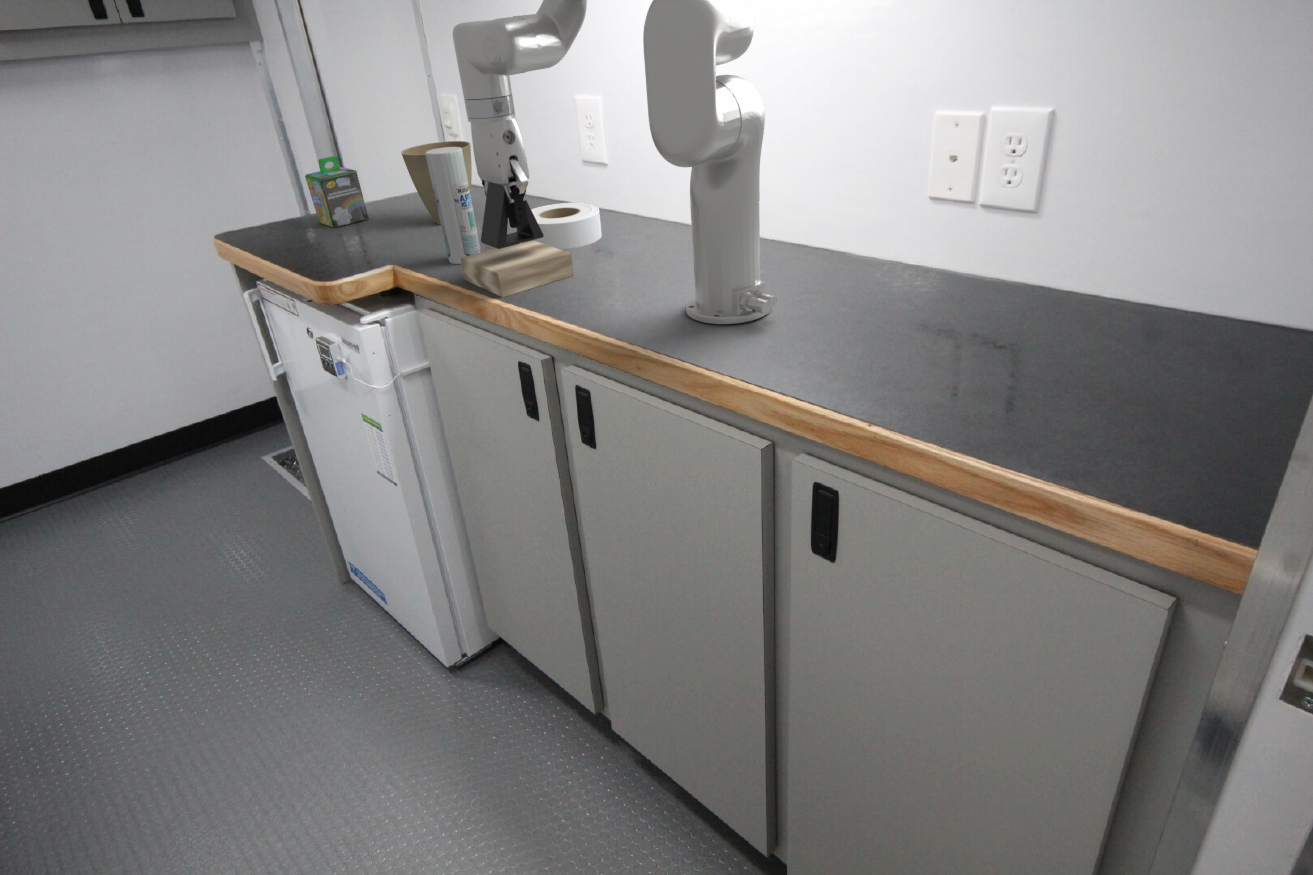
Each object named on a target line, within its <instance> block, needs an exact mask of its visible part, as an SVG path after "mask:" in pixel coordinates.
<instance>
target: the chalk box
mask: <svg viewBox="0 0 1313 875" xmlns="http://www.w3.org/2000/svg"><path fill="white" fill-rule="evenodd" d="M327 163H333V165H332V167H329V168H328V167H326V164H327ZM318 165H319V170H318V171H314V172H311V173H306V174H305V175H304V177H305V181H306V184H307V188H308V190H309V194H310V197H311V201H312V205H313V208H314V210H315V213H316V217H317V220H318V223H319V224H322V225H325V226H326V227H331V228H333V229H336V228H339V227H343V226H347V225H351V224H356V223H360V222H364V221H368V220H369V214H368V211H367V208H366V207H367V206H366V203H365V199H364V196H363V195H364V194H363V191H362V188H361V183H360V179H359V176H358V170H354V169H351V168H347V167H343V166H340V160H339V157H338V156H337V155H332V156H326V157H322V158H319V159H318Z"/></svg>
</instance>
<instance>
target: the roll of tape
mask: <svg viewBox="0 0 1313 875" xmlns="http://www.w3.org/2000/svg"><path fill="white" fill-rule="evenodd" d="M530 209H531V211H532V213H533V215H534V217H535V219H536V221H537V223H538V225H539V227H540V229H541V231H542V233H543V235H544V236H543V238H539V239H535V240H533V241H536V242H539V243H542V244H545V245H548V246H551V247H554V248H557V249H560V250H563V251H566V250H571V249H576V248H581V247H585V246H589V245H591V244H593V243H595V242H598V241H599V240H600V239H601V238H602V236H603V235H602V225H601V216H600V208H599V206H598V205H595V204H591V203H588V202H587V203H583V202H561V203H553V204H547V205H542V206H538V207H534V208H530Z"/></svg>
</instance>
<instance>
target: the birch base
mask: <svg viewBox="0 0 1313 875" xmlns="http://www.w3.org/2000/svg"><path fill="white" fill-rule="evenodd" d="M572 260H573V258H572V253H571V252H569V251H566V250H560V249H557V248H554V247H551V246H548V245H545V244H542V243H539V242H536V241H533V240H532V241H528V242H524V243H521V242H520V244H516V245H513V246H509V247H505V248H501V249H497V248H495V247H494V248H492V249H489V250H484V251H481V252H480V253H477V254H473V255H469V256H465V257H462V258H461V263H462V264H461V268H462V272H463V277H464V280H465V281H466V280H467V281H466V282H468V283H471V284H473V285H475V286H476V287H479V288H481V287H482V289H483V290H486V291H488V292H489V293H490V292H491V293H493V294H495V295H497V296H499V297H502V298H505V297H507V296H511V295H514V294H518V293H521V292H525V291H527V290H528V291H529V290H531V289H534V288H538V287H541V286H544V285H548V284H550V283H551V284H552V283H554V282H557V281H561V280H564V279H567V278H571V277H573V276H575V275H574V273H575V272H574V267H573V261H572Z"/></svg>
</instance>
